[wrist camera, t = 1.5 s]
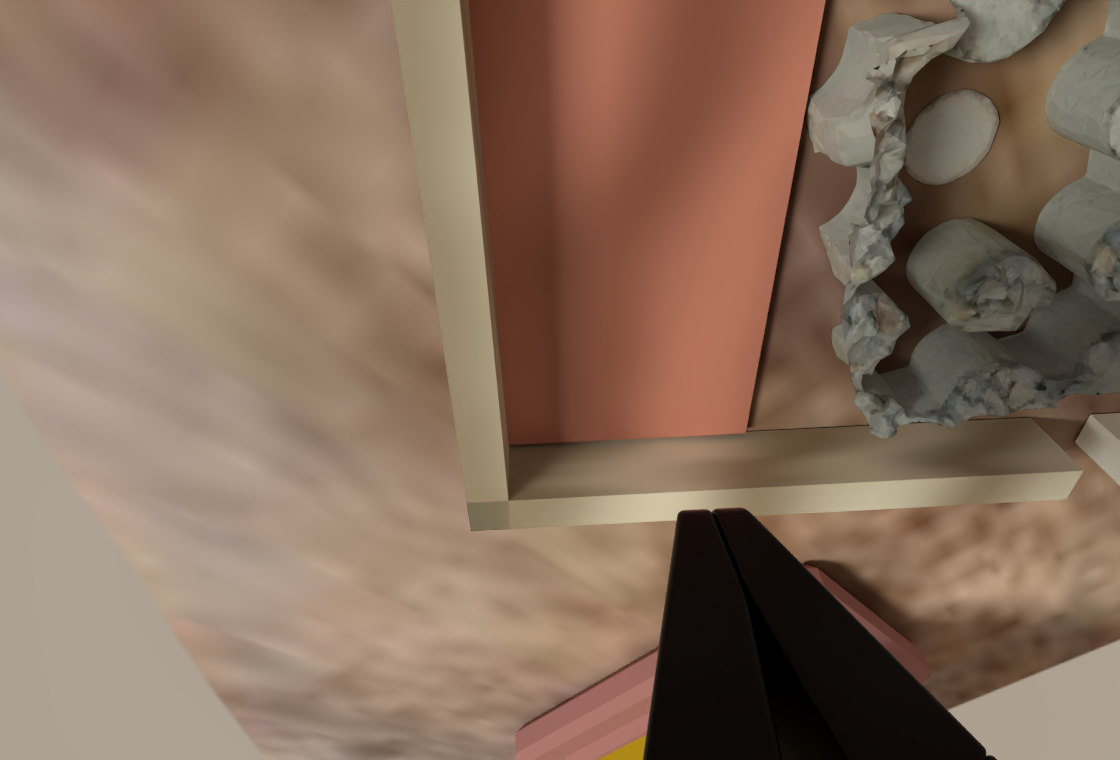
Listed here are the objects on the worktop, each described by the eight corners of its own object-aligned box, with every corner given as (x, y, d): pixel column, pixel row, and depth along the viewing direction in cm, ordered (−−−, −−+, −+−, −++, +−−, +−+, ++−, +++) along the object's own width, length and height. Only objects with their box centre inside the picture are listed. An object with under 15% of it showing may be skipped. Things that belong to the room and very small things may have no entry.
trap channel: (1378, -272, 12) (1552, -308, 10) (1016, 445, 22) (1066, 499, 20) (378, -250, 12) (348, -282, 10) (475, 473, 22) (471, 531, 20)
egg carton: (787, 22, 15) (864, 55, 11) (1147, -92, 14) (1346, -92, 10) (813, 389, 21) (869, 481, 17) (1065, 327, 20) (1174, 411, 17)
